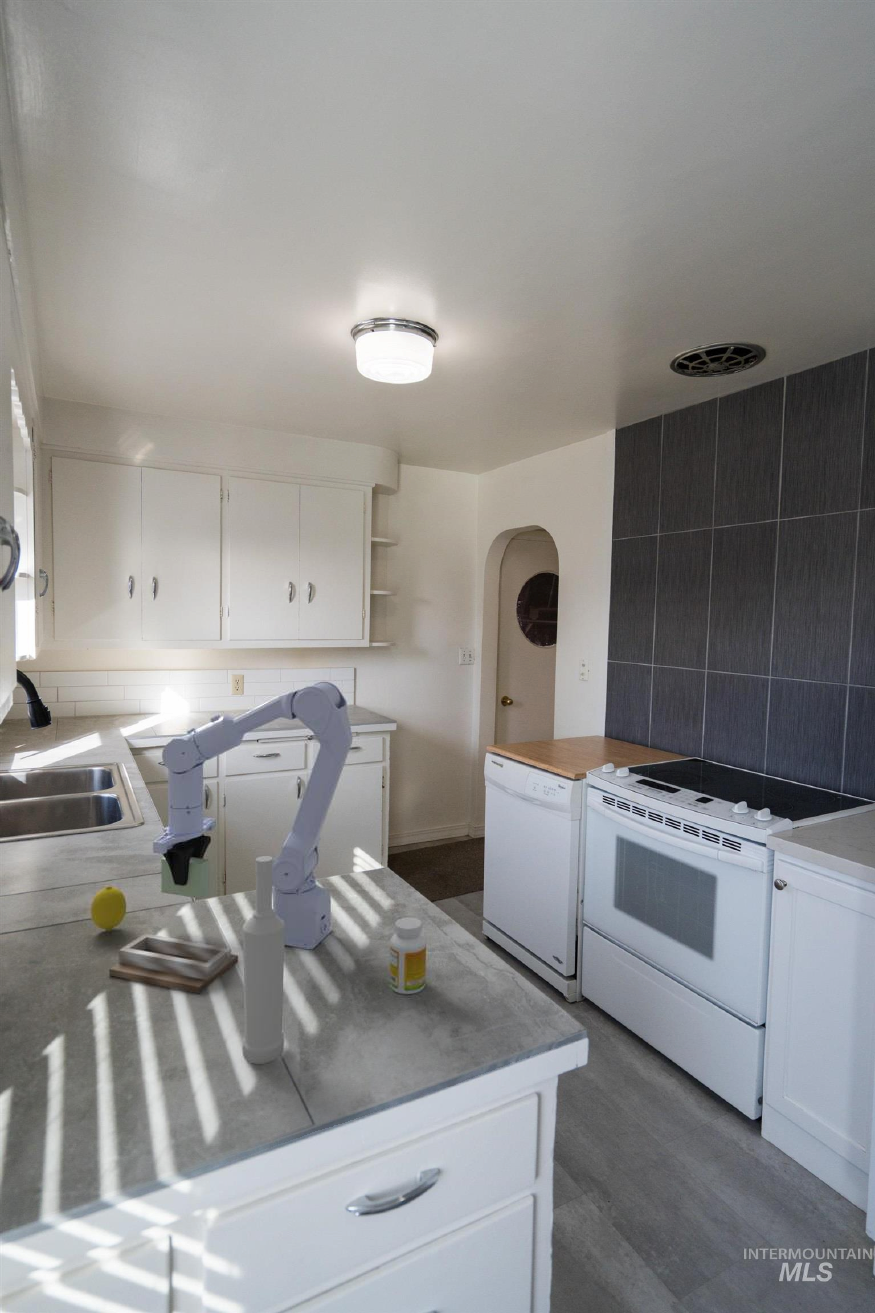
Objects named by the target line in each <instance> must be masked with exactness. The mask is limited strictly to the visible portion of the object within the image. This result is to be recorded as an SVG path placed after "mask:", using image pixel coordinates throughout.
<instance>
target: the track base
mask: <svg viewBox="0 0 875 1313" xmlns="http://www.w3.org/2000/svg"><path fill="white" fill-rule="evenodd" d="M238 962H239V955H237V954H232V948H228V947H223V946H216V945H212V944H207V943H201V942H200V943H199V942H196V941H195V942H194V941H189V940H183V939H179V938H173V937H167V936H162V935H157V934H156V935H155V934H150V933H143V935H140V937H138V938H136V939H134V940H133V941H131V942H130V943H128V944H127V945H124V946H123V947H122V948H120V949H119V950H118V963H116V964H115V965H113V966H112V967H110V968H109V971H108V972H109V973H108V974H109V976H112V977H118V978H121V979H127V980H131V981H135V982H141V983H146V984H151V985H155V986H161V987H165V988H170V989H176V990H181V991H185V992H191V993H194V994H201V993H202V992H203V991H205V989H207V987H209V986H211V984H212V983H214V982H215V981H217V979H219V978H220V977H221V976H222V975H224V973H225V974H226V972H227V971H228V970H230V969H231V968H232V967H233V966H234V965H236V964H237V963H238Z"/></svg>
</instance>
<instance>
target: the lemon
mask: <svg viewBox="0 0 875 1313" xmlns="http://www.w3.org/2000/svg"><path fill="white" fill-rule="evenodd" d="M126 912H127V902H126V896H125V894H124V893H123V892H122V890H120V888H117V887H115V886H112V885H106V886H105V887H104V888H102V889H100V890H99V891H98V892H97V893H96V894H95V895H94V897H93V900H92V902H91V908H90V916H91V920H92V922H93V924H94V925H95V926H97V928H99V929H101V930H105V931H106V932H110V931H112V930H113V929H114V928H116V927H117V926H119V925H120V924H121V923H122V921H123V920H124V918H125V916H126Z"/></svg>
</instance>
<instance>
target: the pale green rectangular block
mask: <svg viewBox="0 0 875 1313" xmlns="http://www.w3.org/2000/svg"><path fill="white" fill-rule="evenodd" d="M160 860H161V868H160V869H161V870H160V871H161V894H169V895H175V896H182V897H186V898H187V897H189V898H192V899H193V898H194V899H195V898H196V899H200V900H202V899H203V898H205V897H206V896H207V895H209V894H210V889H211V888H210V885H211V884H210V878H211V876H210V874H211V873H210V871H211V870H210V865H211V864H210V859H208V858H203V859H201V858H194V857H191V859H190V863H189V871H188V880H187V884H186V885H185V886H181V885H175V884H174V881H173V877H172V874H171V870H170V867H169V865H168V863H167V861H166V859H165V857H164V856H163V857H162V858H161V859H160Z"/></svg>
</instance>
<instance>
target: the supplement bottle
mask: <svg viewBox="0 0 875 1313" xmlns="http://www.w3.org/2000/svg"><path fill="white" fill-rule="evenodd" d="M422 925H423V923H422V921H421V920H420V919H418V918H417V917H402V918H399V919H397V920H396V921H395V923H394V927H395V928H394V932H395V933H394V934H393V936H391V938H390V945H389V946H390V947H389V948H390V950H389V951H390V953H389V986H390V988H391V989H392V990H393V992H396V993H398V994H402V995H410V994H417V993H419V992H421V991H423V989H425V986H426V976H427V975H426V970H427V966H426V965H427V941H426V936H424V935H423V934H422V929H423V926H422Z"/></svg>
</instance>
